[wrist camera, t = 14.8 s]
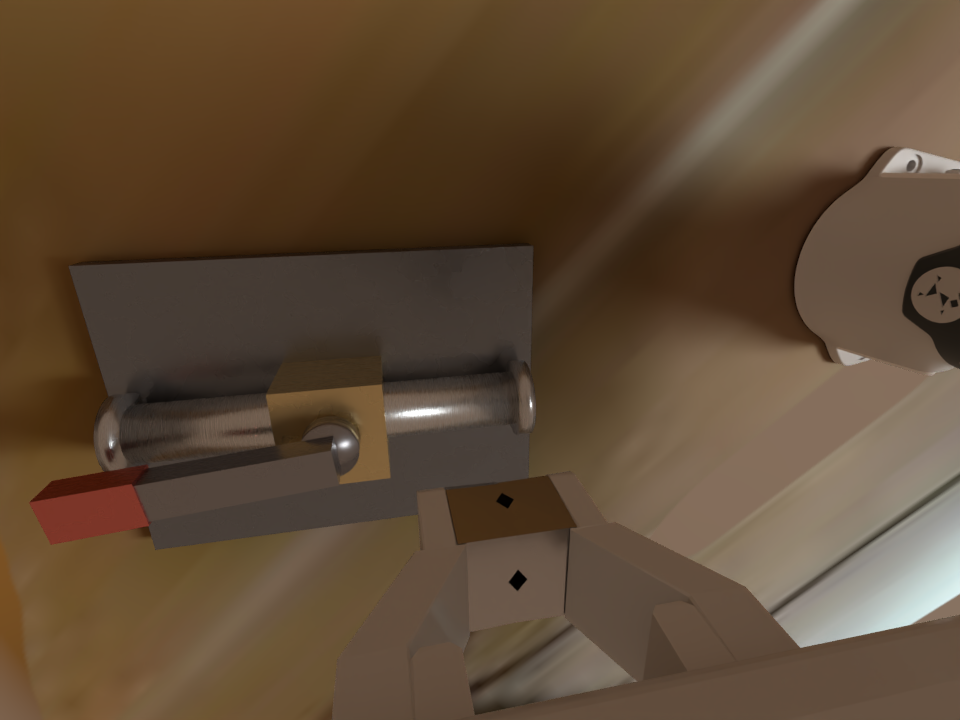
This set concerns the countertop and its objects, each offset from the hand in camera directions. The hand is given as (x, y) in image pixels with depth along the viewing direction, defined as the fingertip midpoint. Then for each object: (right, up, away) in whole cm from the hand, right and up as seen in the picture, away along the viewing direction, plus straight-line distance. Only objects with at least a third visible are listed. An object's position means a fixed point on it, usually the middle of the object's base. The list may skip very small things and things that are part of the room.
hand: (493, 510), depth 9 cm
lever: (-16, -3, +22) cm, 27 cm away
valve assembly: (-11, 0, +29) cm, 31 cm away
